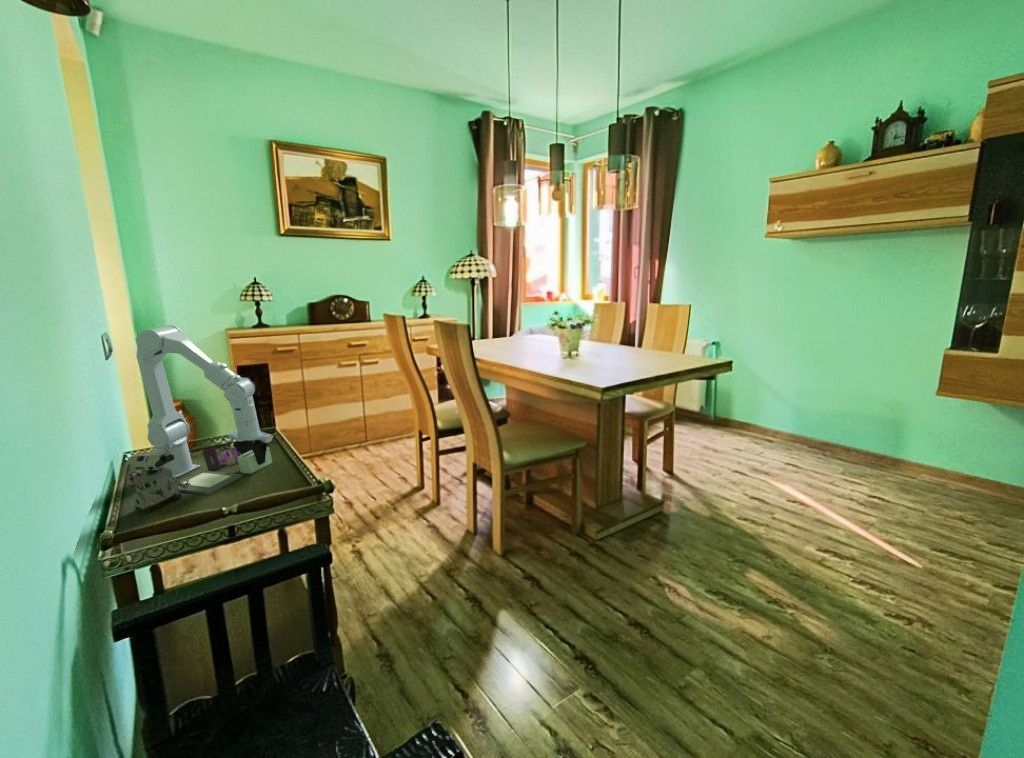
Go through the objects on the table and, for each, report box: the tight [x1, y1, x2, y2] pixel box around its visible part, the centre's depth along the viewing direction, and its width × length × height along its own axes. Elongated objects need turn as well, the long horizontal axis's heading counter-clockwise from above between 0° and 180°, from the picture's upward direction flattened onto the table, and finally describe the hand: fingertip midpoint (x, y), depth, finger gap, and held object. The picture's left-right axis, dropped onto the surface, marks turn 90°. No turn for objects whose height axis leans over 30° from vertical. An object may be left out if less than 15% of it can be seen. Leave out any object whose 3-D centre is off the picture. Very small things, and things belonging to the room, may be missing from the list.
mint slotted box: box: [237, 446, 273, 475], centre depth 142 cm, size 4×8×5 cm, turn 162°
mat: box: [176, 469, 244, 496], centre depth 134 cm, size 16×11×1 cm
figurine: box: [125, 450, 190, 514], centre depth 120 cm, size 9×12×15 cm
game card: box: [202, 441, 241, 472], centre depth 146 cm, size 7×5×9 cm
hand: (255, 462), depth 142 cm, fingers closed on mint slotted box, 4 cm apart
